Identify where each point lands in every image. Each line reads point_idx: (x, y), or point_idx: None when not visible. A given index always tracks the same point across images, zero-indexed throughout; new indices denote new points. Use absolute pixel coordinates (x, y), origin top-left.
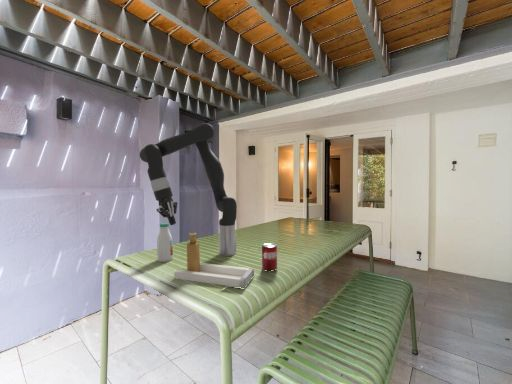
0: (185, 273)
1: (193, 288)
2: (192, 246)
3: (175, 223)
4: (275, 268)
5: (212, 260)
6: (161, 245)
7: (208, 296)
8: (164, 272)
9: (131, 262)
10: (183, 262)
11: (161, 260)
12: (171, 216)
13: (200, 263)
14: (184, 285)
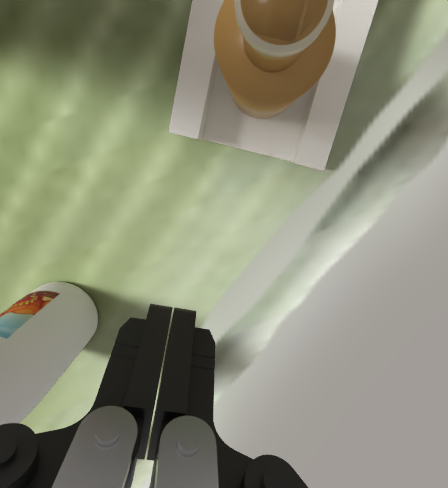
0: (346, 98)
1: (417, 31)
2: (333, 25)
3: (157, 305)
4: None
5: (22, 44)
6: (55, 367)
7: None
8: (223, 252)
9: None
10: (83, 209)
11: (96, 321)
12: (199, 423)
13: (192, 55)
14: (378, 93)
